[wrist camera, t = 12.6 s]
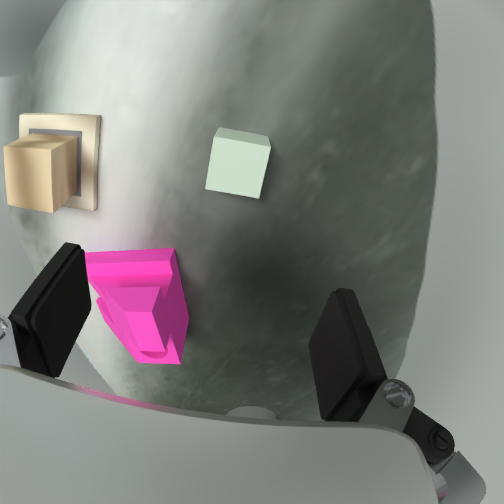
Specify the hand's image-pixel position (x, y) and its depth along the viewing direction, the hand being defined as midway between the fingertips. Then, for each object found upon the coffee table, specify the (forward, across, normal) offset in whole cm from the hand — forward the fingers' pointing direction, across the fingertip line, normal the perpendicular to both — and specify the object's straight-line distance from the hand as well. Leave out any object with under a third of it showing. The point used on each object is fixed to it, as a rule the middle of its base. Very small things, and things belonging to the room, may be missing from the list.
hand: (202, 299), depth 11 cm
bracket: (+21, +9, +18) cm, 29 cm away
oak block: (+19, +18, +3) cm, 27 cm away
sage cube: (+20, -1, 0) cm, 20 cm away
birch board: (+20, +18, +3) cm, 27 cm away
